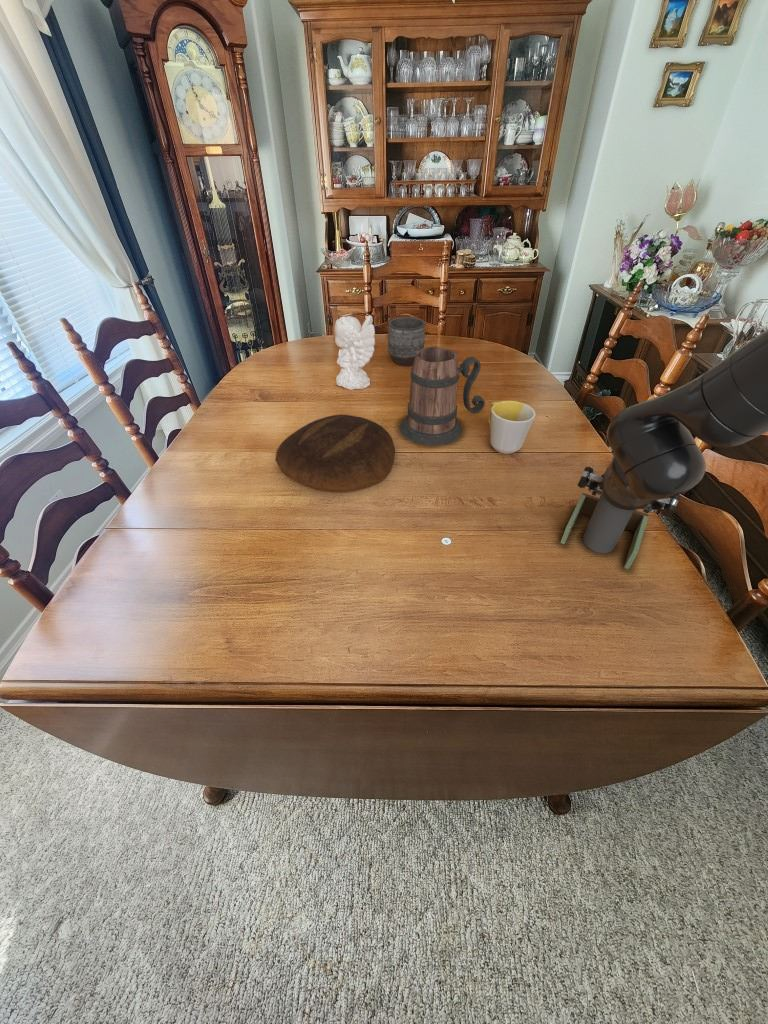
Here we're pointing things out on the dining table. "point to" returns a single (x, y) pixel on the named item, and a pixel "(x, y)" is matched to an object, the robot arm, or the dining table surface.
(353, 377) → the cherub figurine
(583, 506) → the green u-shaped frame
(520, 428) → the mug
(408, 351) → the planter
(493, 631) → the dining table surface
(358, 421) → the bread
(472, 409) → the tankard
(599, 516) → the bottle
